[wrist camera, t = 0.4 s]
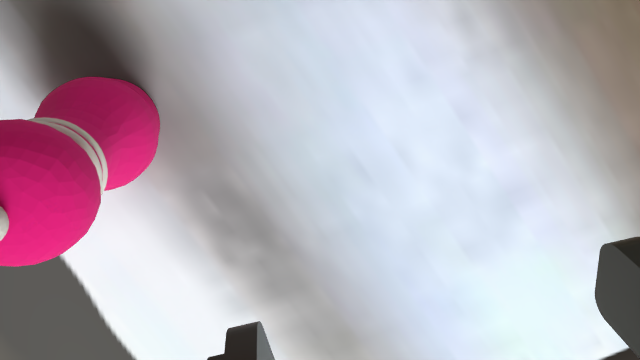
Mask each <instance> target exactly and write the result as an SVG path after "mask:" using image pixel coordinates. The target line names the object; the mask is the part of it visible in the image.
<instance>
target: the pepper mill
mask: <svg viewBox="0 0 640 360" xmlns="http://www.w3.org/2000/svg"><path fill="white" fill-rule="evenodd" d="M159 130H160V121H159V115H158V111H157V109H156V107H155V105H154V103H153V101H152V100H151V99H150V97H149V96H148V95H147V94H146V93H145V92H144V91H143V90H142V89H140V88H139V87H137V86H136V85H134V84H132V83H130V82H127V81H124V80H120V79H111V78H103V77H83V78H78V79H74V80H71V81H69V82H67V83H65V84H63V85H61V86H59V87H58V88H56V89H55V90H53V91H52V92H51V93H49V94H48V96H47V97H46V98H45V99H44V100H43V101H42V103H41V104H40V106H39V108H38V110H37V112H36V114H35V117H34V118H33V119H29V120H23V119H15V120H0V266H24V265H34V264H37V263H40V262H43V261H47V260H50V259H52V258H54V257H56V256H58V255H60V254H62V253H64V252H65V251H67V250H68V249H69V248H71V247H72V246H73V245H74V244H76V243H77V242H78V241H79V240H80V239H81V238H82V237H83V236H84V235H85V234H86V233H87V232H88V230H89V228H90V226H91V225H92V223H93V221H94V220H95V217H96V214H97V211H98V209H99V206H100V203H101V195H102V193H103V192H104V191H106V190H111V189H115V188H118V187H121V186H124V185H126V184H128V183H129V182H131V181H133V180H134V179H135V178H137V177H138V176H139V175H140V174H141V173H142V172H143V171H144V170H145V169H146V168H147V167H148V166H149V164H150V163H151V162H152V160H153V157H154V155H155V153H156V149H157V145H158V135H159Z"/></svg>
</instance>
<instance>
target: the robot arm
mask: <svg viewBox="0 0 640 360" xmlns="http://www.w3.org/2000/svg"><path fill="white" fill-rule="evenodd" d="M595 300H596V303H597V306H598V309H599V311H600V313H601V315H602V316H603V318H604V319H605V320H606V322H607V323H608V324H609V325H610V326H611V327H612V328H613V329H614V331H615V332H616V333H617V334H618V335H619V336H620V337H621V338H622V340H623V341H624V342H625V343H626V344H627V345H628V346H629V347H630V348H631V350H632V351H633V352H634V353H635V354H636V355H637V356H638V357H639V359H640V237H633V238H629V239H625V240H620V241H616V242H611V243H607V244H604V245H603V246H602V247H601V249H600V255H599V263H598V271H597V279H596V287H595ZM207 360H275V359H274V356H273V354H272V351H271V348H270V345H269V342H268V340H267V337H266V334H265V331H264V328H263V326H262V324H261V322H260V321H259V322H254V323H250V324H245V325H241V326H237V327H232V328H228V330H227V333H226V342H225V353H224V354H221V355H217V356H212V357H208V359H207Z"/></svg>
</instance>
